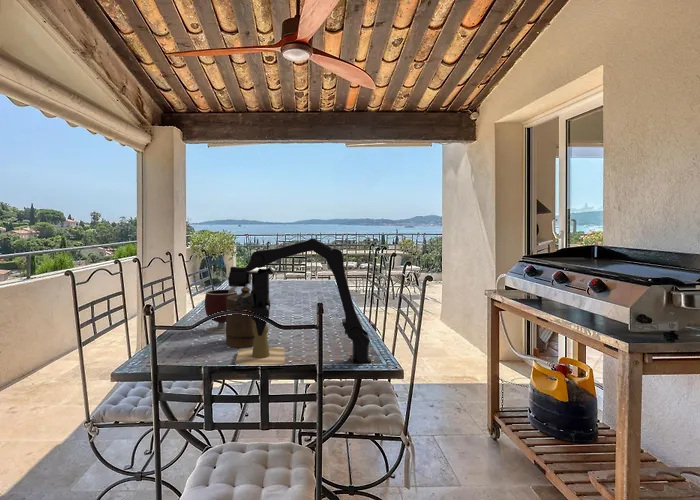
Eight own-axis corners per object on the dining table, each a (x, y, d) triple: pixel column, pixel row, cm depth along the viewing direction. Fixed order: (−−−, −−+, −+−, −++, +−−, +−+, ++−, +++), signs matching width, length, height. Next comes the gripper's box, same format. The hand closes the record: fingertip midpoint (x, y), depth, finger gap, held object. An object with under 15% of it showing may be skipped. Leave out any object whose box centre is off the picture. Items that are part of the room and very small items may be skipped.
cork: (260, 359, 139) (260, 327, 139) (248, 356, 143) (247, 324, 142) (273, 355, 144) (273, 323, 144) (260, 351, 148) (260, 321, 147)
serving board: (284, 367, 136) (284, 363, 136) (234, 370, 134) (234, 365, 133) (284, 351, 154) (284, 347, 154) (239, 352, 151) (239, 348, 151)
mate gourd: (212, 336, 173) (211, 288, 172) (200, 329, 184) (199, 284, 182) (246, 330, 183) (246, 285, 181) (233, 324, 193) (233, 281, 192)
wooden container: (269, 344, 163) (269, 288, 161) (231, 349, 155) (231, 291, 154) (257, 335, 175) (257, 283, 174) (221, 340, 168) (221, 285, 166)
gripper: (238, 283, 150) (239, 326, 151) (233, 291, 132) (233, 340, 133) (270, 282, 152) (270, 325, 153) (268, 291, 133) (269, 339, 134)
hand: (260, 332), depth 143 cm, fingers open, 9 cm apart
